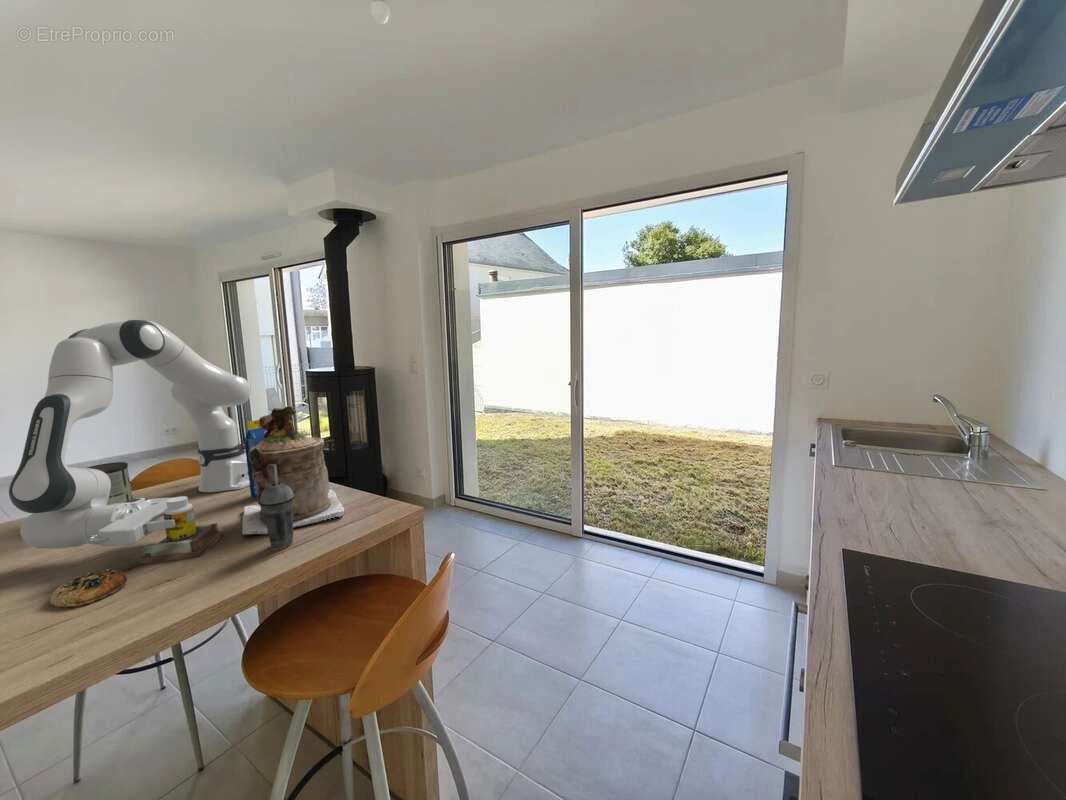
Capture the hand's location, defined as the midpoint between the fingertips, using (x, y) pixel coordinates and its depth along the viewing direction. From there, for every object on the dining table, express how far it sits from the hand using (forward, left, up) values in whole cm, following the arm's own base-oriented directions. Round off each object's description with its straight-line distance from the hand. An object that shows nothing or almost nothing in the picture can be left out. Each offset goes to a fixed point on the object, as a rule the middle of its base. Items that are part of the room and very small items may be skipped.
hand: (183, 516), depth 104 cm
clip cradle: (+1, -1, -8) cm, 8 cm away
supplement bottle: (+1, -1, -6) cm, 6 cm away
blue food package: (-33, -19, -8) cm, 39 cm away
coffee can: (-2, -49, -8) cm, 49 cm away
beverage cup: (-10, +20, -8) cm, 24 cm away
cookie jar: (-24, +5, -8) cm, 26 cm away
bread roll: (+19, +4, -8) cm, 21 cm away
